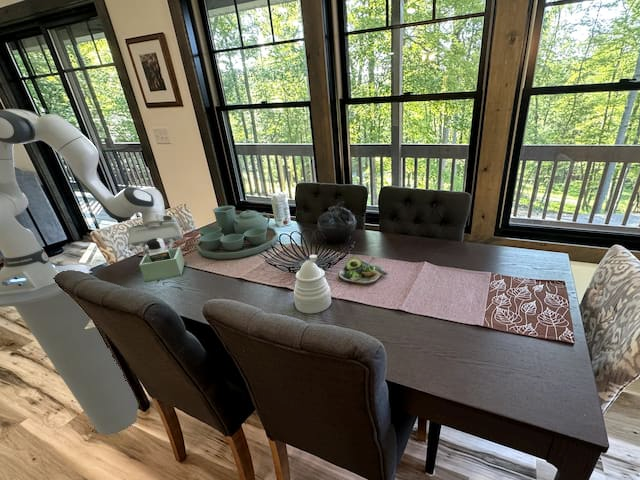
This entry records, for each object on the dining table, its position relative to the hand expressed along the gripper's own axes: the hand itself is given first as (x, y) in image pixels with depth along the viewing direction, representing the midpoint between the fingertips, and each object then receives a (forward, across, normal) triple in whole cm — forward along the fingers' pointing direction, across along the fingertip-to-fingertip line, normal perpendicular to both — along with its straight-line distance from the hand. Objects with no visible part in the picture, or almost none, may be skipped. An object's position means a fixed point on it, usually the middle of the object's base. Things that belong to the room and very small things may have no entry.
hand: (158, 251), depth 134 cm
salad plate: (+34, +78, -20) cm, 88 cm away
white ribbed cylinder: (-22, +58, +36) cm, 72 cm away
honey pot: (+44, +55, -29) cm, 76 cm away
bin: (+7, 0, +8) cm, 10 cm away
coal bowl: (+5, +81, +9) cm, 82 cm away
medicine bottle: (+5, 0, +6) cm, 7 cm away
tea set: (-7, +32, +21) cm, 39 cm away
